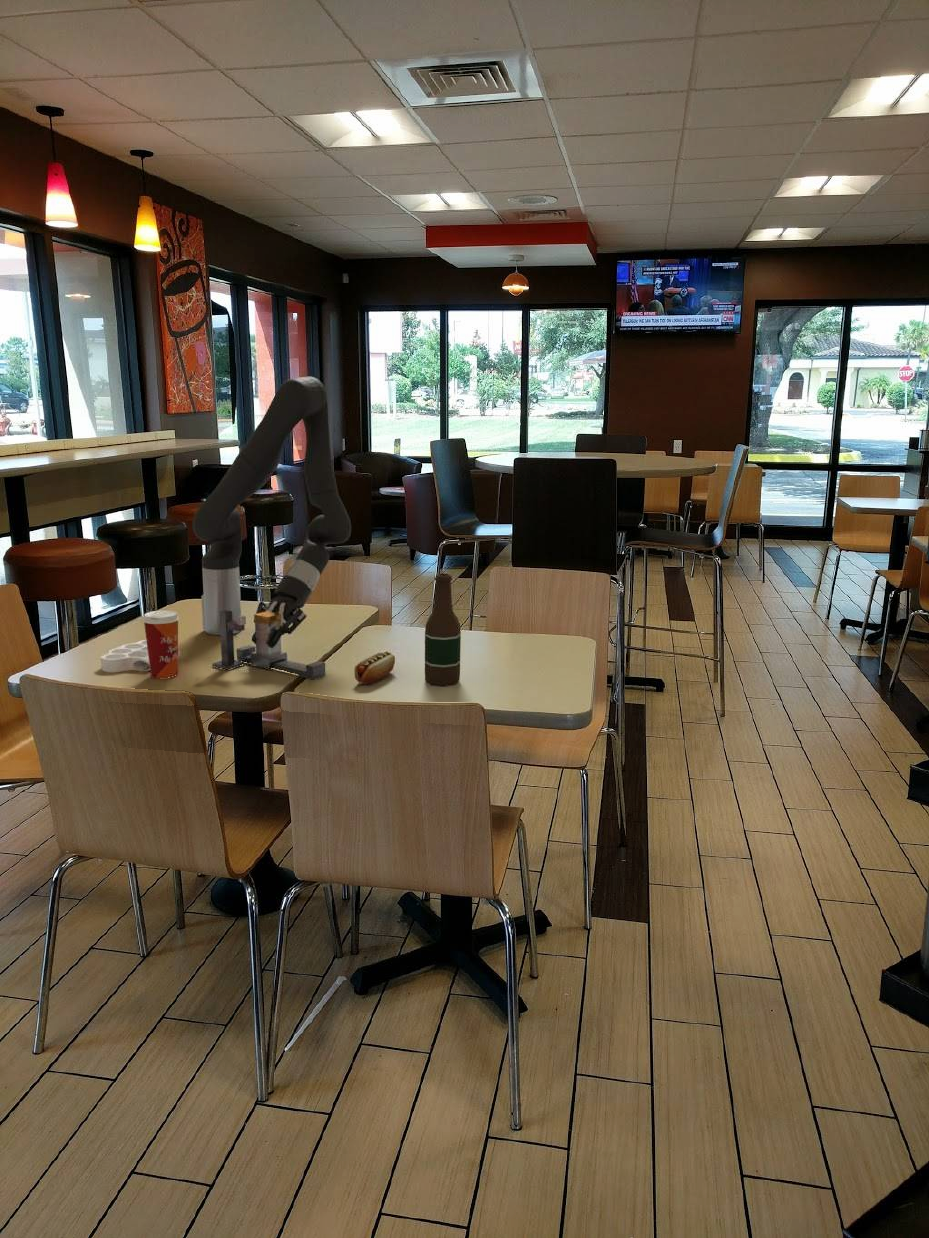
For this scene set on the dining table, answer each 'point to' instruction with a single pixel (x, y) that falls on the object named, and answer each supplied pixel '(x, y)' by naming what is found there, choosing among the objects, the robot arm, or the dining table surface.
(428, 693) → the dining table surface
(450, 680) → the beer bottle
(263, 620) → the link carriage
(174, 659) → the paper cup
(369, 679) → the hot dog
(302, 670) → the rail
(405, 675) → the dining table surface
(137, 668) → the white tray with holes
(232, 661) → the hook
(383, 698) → the dining table surface
